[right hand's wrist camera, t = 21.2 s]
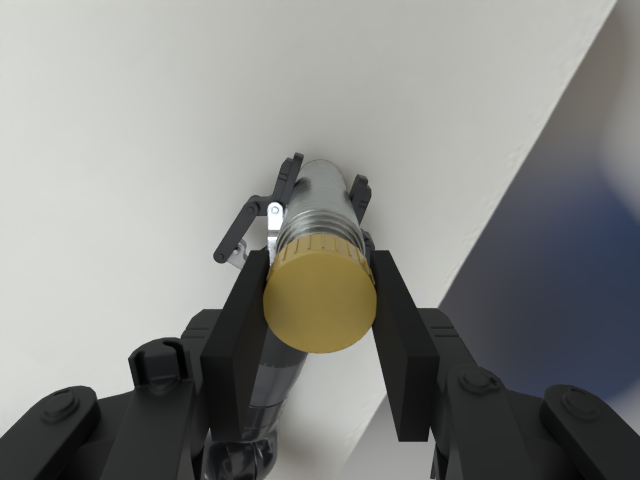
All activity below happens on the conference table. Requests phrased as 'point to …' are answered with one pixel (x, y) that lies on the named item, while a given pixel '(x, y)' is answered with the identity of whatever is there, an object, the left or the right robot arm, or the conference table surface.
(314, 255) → the cap
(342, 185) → the bottle
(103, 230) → the conference table surface
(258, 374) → the left robot arm
